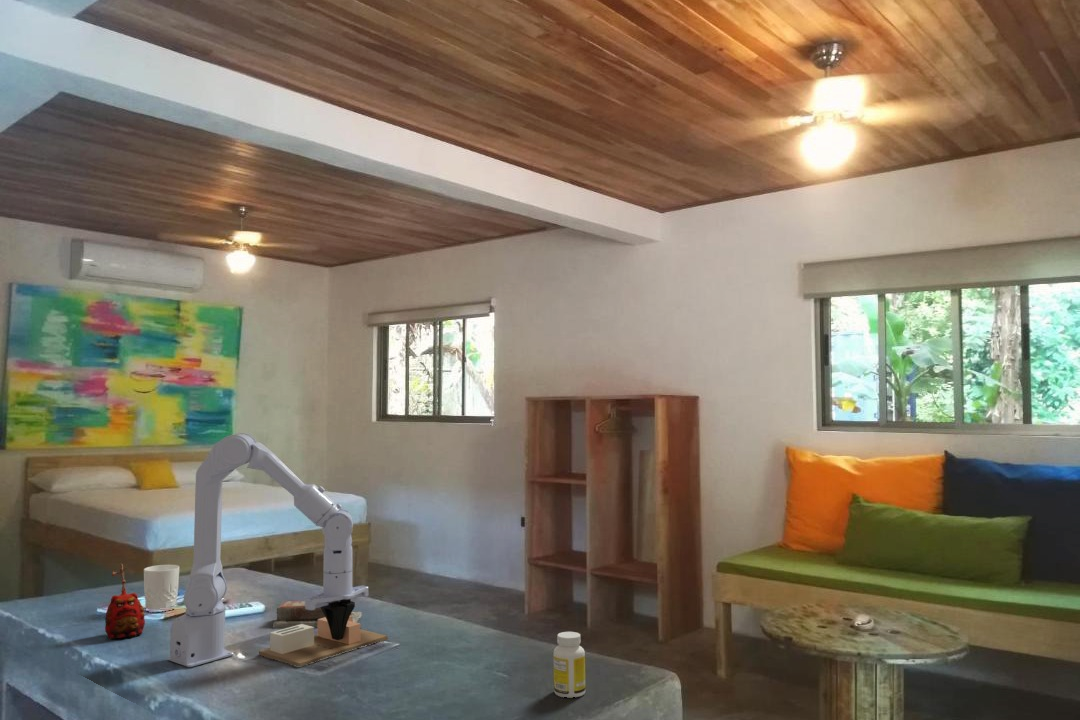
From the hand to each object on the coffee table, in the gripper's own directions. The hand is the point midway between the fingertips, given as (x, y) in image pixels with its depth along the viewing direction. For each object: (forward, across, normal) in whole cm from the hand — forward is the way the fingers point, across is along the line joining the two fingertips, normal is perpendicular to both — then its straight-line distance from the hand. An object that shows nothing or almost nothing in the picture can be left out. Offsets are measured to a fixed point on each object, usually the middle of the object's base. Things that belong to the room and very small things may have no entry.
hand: (337, 638), depth 162 cm
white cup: (+2, -5, +60) cm, 60 cm away
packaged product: (+3, +11, +20) cm, 23 cm away
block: (+1, +4, +3) cm, 5 cm away
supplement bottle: (+2, +7, -52) cm, 53 cm away
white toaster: (+2, -6, +6) cm, 9 cm away
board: (+2, -1, +3) cm, 4 cm away
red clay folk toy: (+2, -21, +45) cm, 50 cm away
